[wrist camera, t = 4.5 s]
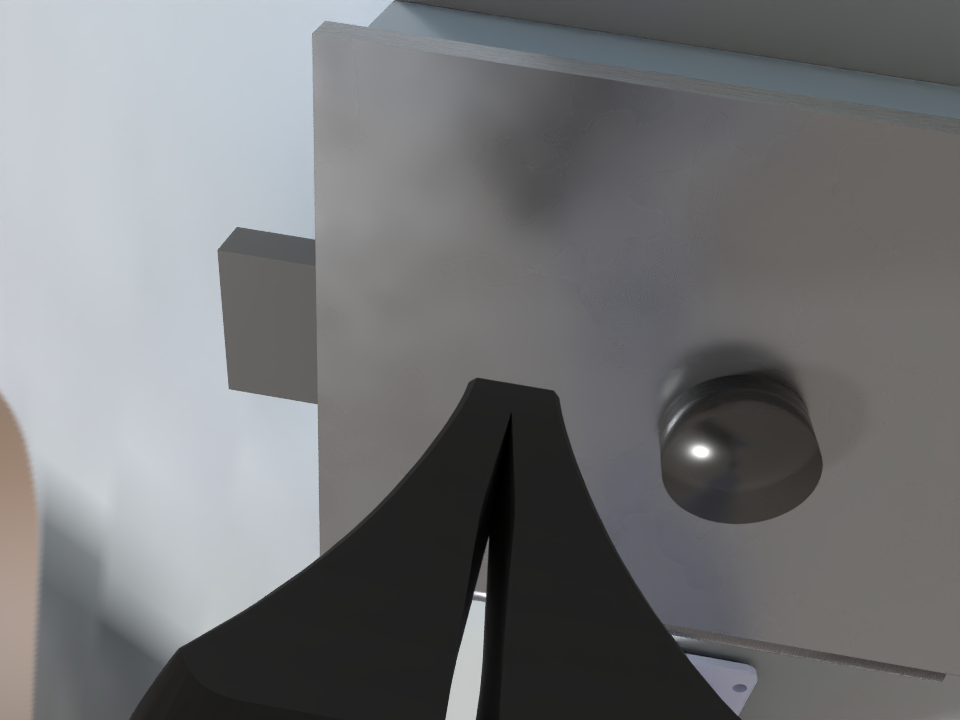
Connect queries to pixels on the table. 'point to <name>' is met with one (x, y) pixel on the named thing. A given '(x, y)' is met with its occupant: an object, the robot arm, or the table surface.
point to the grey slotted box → (292, 260)
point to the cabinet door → (659, 324)
